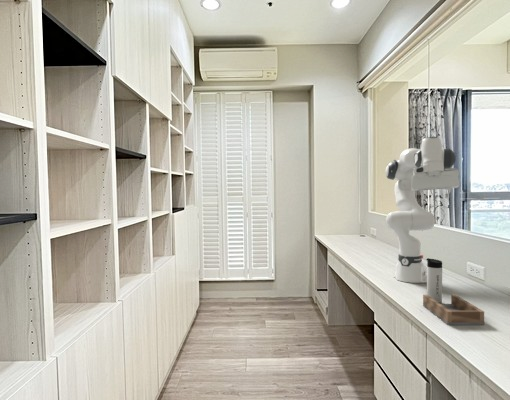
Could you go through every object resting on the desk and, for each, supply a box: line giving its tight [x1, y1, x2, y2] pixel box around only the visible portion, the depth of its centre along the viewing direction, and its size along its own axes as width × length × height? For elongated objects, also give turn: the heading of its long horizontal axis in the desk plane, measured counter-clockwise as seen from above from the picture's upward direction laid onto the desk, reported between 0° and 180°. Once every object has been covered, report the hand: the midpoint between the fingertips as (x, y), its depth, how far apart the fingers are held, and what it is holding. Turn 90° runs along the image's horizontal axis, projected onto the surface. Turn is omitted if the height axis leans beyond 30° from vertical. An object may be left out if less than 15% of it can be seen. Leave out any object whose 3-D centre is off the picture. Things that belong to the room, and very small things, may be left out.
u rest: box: [422, 293, 485, 326], centre depth 155 cm, size 22×14×5 cm, turn 179°
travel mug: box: [425, 258, 443, 304], centre depth 170 cm, size 6×7×20 cm
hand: (435, 198), depth 171 cm, fingers open, 8 cm apart
